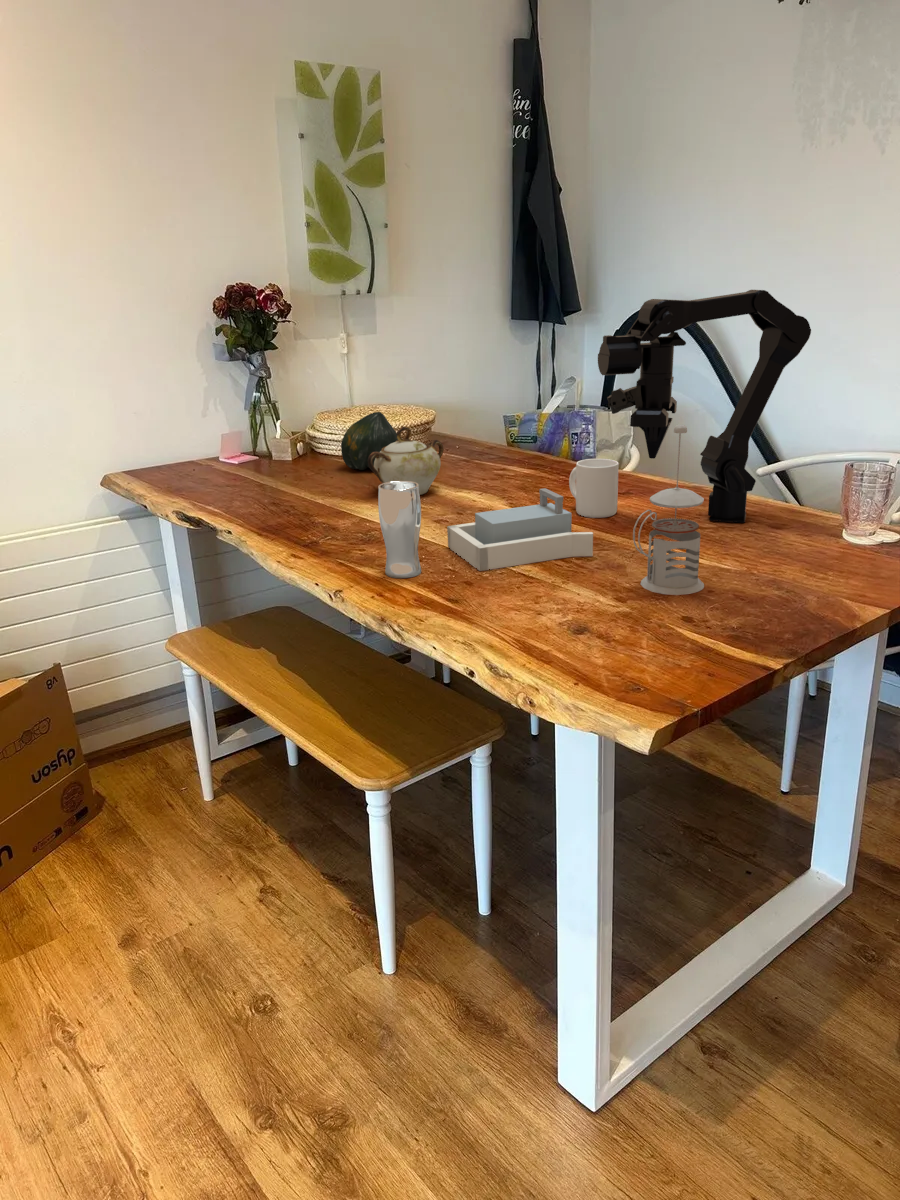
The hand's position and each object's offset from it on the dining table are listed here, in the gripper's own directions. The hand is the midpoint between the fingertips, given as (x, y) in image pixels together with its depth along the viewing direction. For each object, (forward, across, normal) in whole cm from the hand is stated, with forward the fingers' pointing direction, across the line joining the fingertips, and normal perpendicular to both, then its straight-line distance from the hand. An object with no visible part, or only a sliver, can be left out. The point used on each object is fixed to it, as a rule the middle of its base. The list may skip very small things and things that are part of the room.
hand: (652, 458), depth 168 cm
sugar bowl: (+13, -16, -56) cm, 60 cm away
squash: (+13, -39, -75) cm, 86 cm away
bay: (+13, +21, -20) cm, 32 cm away
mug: (+13, -8, -13) cm, 20 cm away
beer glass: (+13, +37, -36) cm, 53 cm away
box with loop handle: (+13, +20, -20) cm, 31 cm away
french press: (+13, +33, +7) cm, 36 cm away
